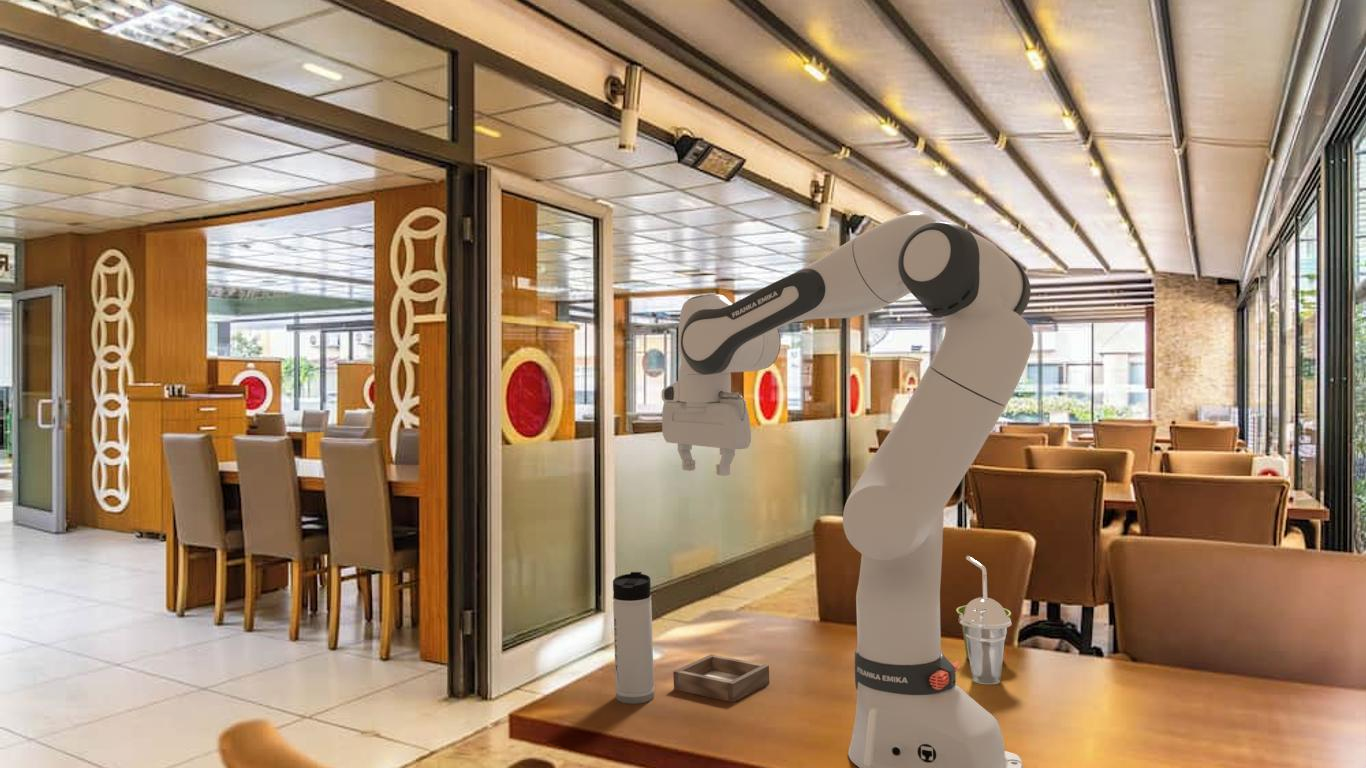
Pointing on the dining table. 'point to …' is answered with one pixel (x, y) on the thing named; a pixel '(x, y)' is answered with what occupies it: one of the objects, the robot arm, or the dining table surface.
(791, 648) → the dining table surface
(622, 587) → the travel mug
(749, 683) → the open wooden tray
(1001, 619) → the cup with straw
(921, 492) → the robot arm
